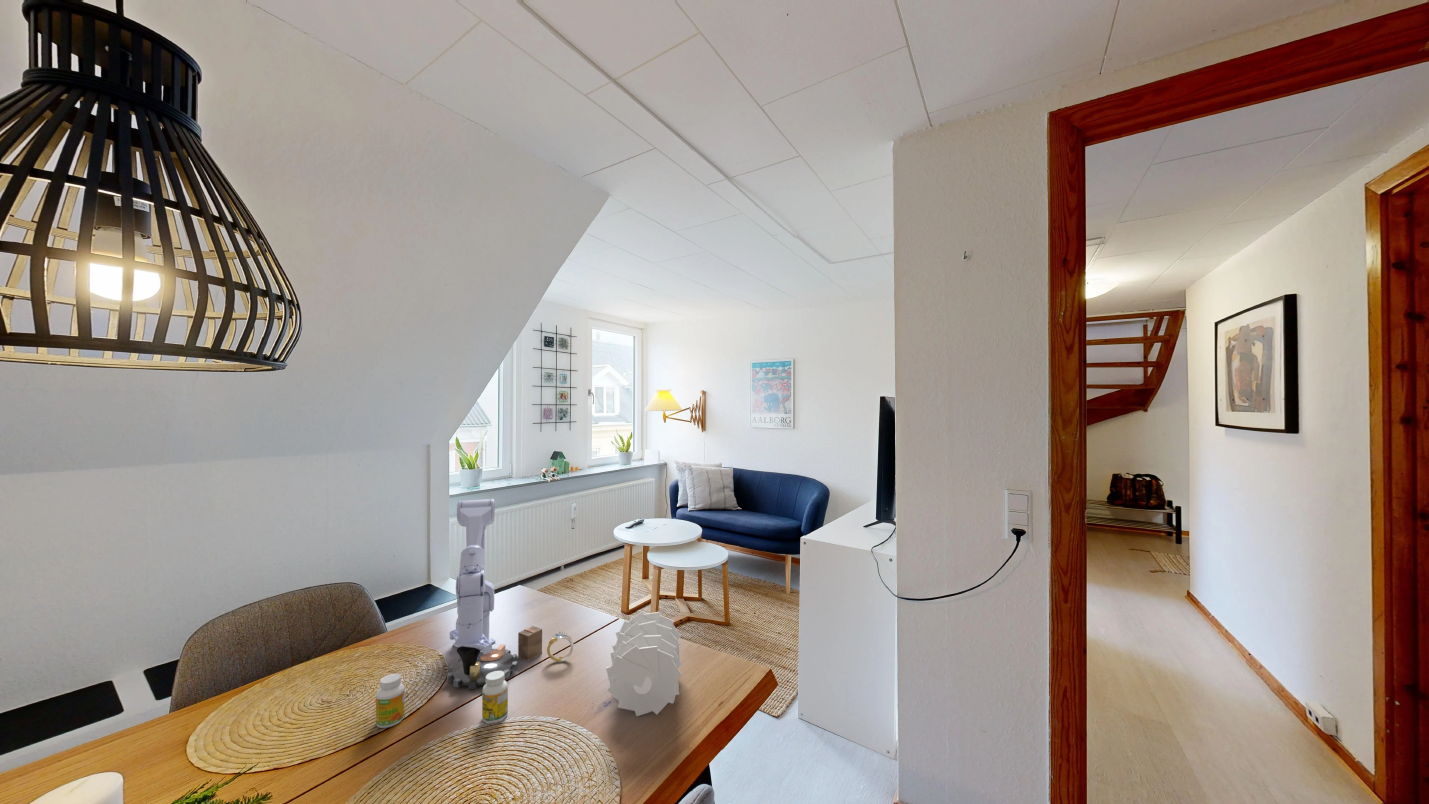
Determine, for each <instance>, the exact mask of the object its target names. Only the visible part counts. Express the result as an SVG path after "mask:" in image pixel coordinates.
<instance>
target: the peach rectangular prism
mask: <svg viewBox="0 0 1429 804" xmlns="http://www.w3.org/2000/svg"><path fill="white" fill-rule="evenodd" d="M496 649H497V650H501V651H505V650H506V644H499V646H498V647H497V648H496Z"/></svg>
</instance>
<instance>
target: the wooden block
mask: <svg viewBox="0 0 1429 804" xmlns="http://www.w3.org/2000/svg"><path fill="white" fill-rule="evenodd" d="M517 634H518V639H517V640H518V641H517V644H518V645H517V656H518V658H519V659H522V660H524V661H527V662H529V661H531V660H533V659H534V658H536V657H537V656H540V655H542V654H543V628H540V627H537V626H534V625H532V626H529V627H526V628H524V629H523V630H521V631H518V633H517Z"/></svg>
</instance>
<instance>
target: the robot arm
mask: <svg viewBox="0 0 1429 804" xmlns="http://www.w3.org/2000/svg"><path fill="white" fill-rule="evenodd" d="M495 501H496V500H495V499H494V498H490V499H489V498H486V499H471V500H470V499H467V500H459V501H458V502H457V504H456V519H457V522H458V525H460V527H465V538H466V539H465V543H466V547H465V548H464V549H463V550H462V551H461V553H460V562H459V570H458V571H459V572H458V576H456V579H455V596H456V608H457V610H456V613H457V618H456V621H455V629H454V630H451V631H449V640H451V641H453V640H454V642H453V643H452V646H453V647H456V653H457V654H458V655H459V658H461V659H462V662H463V669H464V674H465V675H467V676H469V675H470V664H471V663H473V662H477V657H478V655H479V653H480V652H483V654H486V653H489V652H490V651H492V649H493V644H494V643H496V639H494V638H491V637H490V613H492V612H493V611H494V610H495V586H494V584H493V583H492V582H490V581H489V580H486V573H485V557H486V556H485V552H486V551H485V550H486V549H485V548H486V547H485V544H486V543H485V540H486V538H485V536H486V534H485V533H486V530H487V527H488V526H489V525H492V524H493V523H494V522H495V512H496V510H495V509H496V508H495V507H496V505H495V504H496V502H495Z"/></svg>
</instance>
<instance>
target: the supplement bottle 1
mask: <svg viewBox="0 0 1429 804" xmlns="http://www.w3.org/2000/svg"><path fill="white" fill-rule="evenodd" d="M404 718H405V684H403V683H402V675H401V674H400V673H390V674H387V675H384V676H383V677H382V678H380V681H379V689H378V690H377V691H376V695H375V724H376V727H377V728H380V729H385V728H387V729H388V728H391V727H394V726H395V725H398V724H399V723H401V722H402V721H403V719H404Z"/></svg>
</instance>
